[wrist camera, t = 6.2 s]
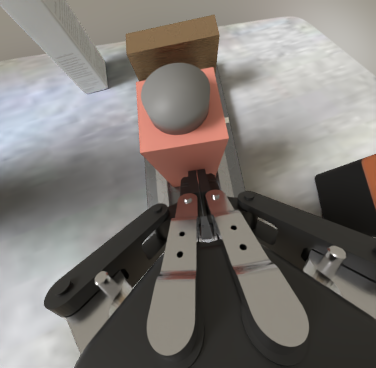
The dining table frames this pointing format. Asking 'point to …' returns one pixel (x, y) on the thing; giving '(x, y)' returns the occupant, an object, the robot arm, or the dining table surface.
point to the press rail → (202, 58)
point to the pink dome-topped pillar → (181, 121)
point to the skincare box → (61, 39)
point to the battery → (350, 195)
